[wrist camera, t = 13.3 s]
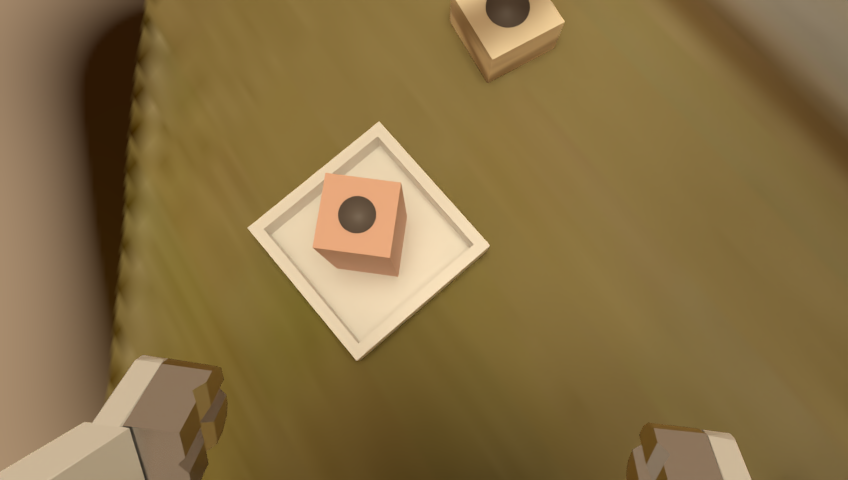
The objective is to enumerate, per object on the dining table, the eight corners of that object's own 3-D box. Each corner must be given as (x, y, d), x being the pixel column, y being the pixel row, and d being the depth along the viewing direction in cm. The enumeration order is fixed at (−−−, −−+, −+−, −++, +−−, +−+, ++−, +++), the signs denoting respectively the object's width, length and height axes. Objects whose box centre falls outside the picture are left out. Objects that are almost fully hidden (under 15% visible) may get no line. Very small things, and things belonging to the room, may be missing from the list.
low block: (553, 49, 47) (565, 21, 43) (487, 84, 46) (492, 59, 42) (514, -11, 48) (522, -45, 44) (449, 22, 47) (451, -8, 43)
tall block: (398, 276, 43) (389, 257, 34) (336, 268, 43) (312, 247, 34) (407, 216, 44) (401, 182, 35) (346, 208, 44) (325, 172, 35)
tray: (486, 251, 44) (490, 245, 41) (361, 360, 43) (356, 360, 40) (382, 134, 46) (379, 121, 43) (258, 234, 44) (247, 227, 42)
